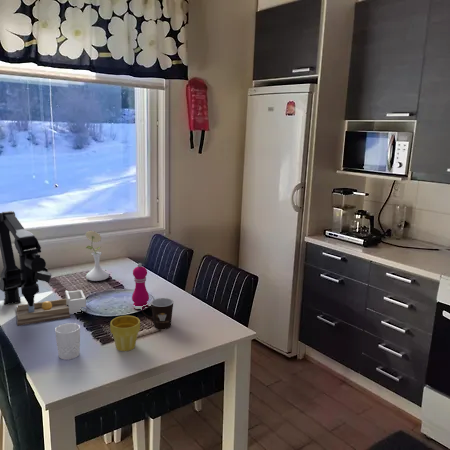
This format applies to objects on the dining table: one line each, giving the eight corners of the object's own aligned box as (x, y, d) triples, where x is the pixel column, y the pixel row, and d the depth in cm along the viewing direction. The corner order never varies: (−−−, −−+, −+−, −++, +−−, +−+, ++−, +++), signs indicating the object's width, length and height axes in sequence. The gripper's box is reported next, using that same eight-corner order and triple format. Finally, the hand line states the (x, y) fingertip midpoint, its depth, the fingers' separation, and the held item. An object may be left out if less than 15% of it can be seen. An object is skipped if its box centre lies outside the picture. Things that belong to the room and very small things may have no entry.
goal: (66, 305, 192) (65, 290, 191) (82, 302, 195) (81, 288, 194) (69, 314, 183) (68, 299, 182) (86, 311, 186) (85, 296, 185)
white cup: (60, 349, 155) (58, 323, 153) (83, 349, 156) (82, 322, 153) (54, 361, 147) (52, 333, 145) (78, 360, 148) (76, 333, 146)
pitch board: (16, 309, 187) (16, 302, 186) (65, 302, 195) (64, 296, 195) (17, 325, 172) (16, 318, 171) (70, 317, 180) (69, 310, 180)
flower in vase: (114, 278, 227) (112, 230, 222) (96, 284, 218) (94, 235, 212) (96, 273, 234) (94, 227, 228) (79, 279, 224) (76, 231, 219)
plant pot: (146, 347, 158) (146, 321, 156) (121, 357, 151) (120, 330, 148) (130, 337, 165) (129, 312, 163) (105, 346, 158) (104, 320, 156)
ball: (41, 309, 185) (41, 300, 184) (52, 307, 187) (51, 299, 186) (42, 313, 182) (41, 303, 181) (52, 311, 183) (52, 302, 182)
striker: (28, 309, 184) (26, 291, 182) (34, 308, 185) (32, 290, 183) (28, 316, 178) (27, 296, 176) (35, 315, 179) (33, 296, 177)
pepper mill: (145, 311, 188) (144, 266, 183) (129, 309, 189) (128, 265, 185) (151, 305, 195) (150, 261, 190) (136, 303, 196) (135, 260, 192)
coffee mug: (177, 323, 177) (177, 299, 175) (167, 332, 169) (167, 308, 167) (151, 318, 181) (150, 295, 179) (140, 327, 173) (140, 303, 171)
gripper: (51, 270, 172) (54, 307, 176) (47, 257, 189) (50, 291, 192) (20, 274, 168) (23, 312, 171) (18, 260, 184) (21, 295, 187)
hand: (30, 302), depth 181 cm, fingers open, 8 cm apart
